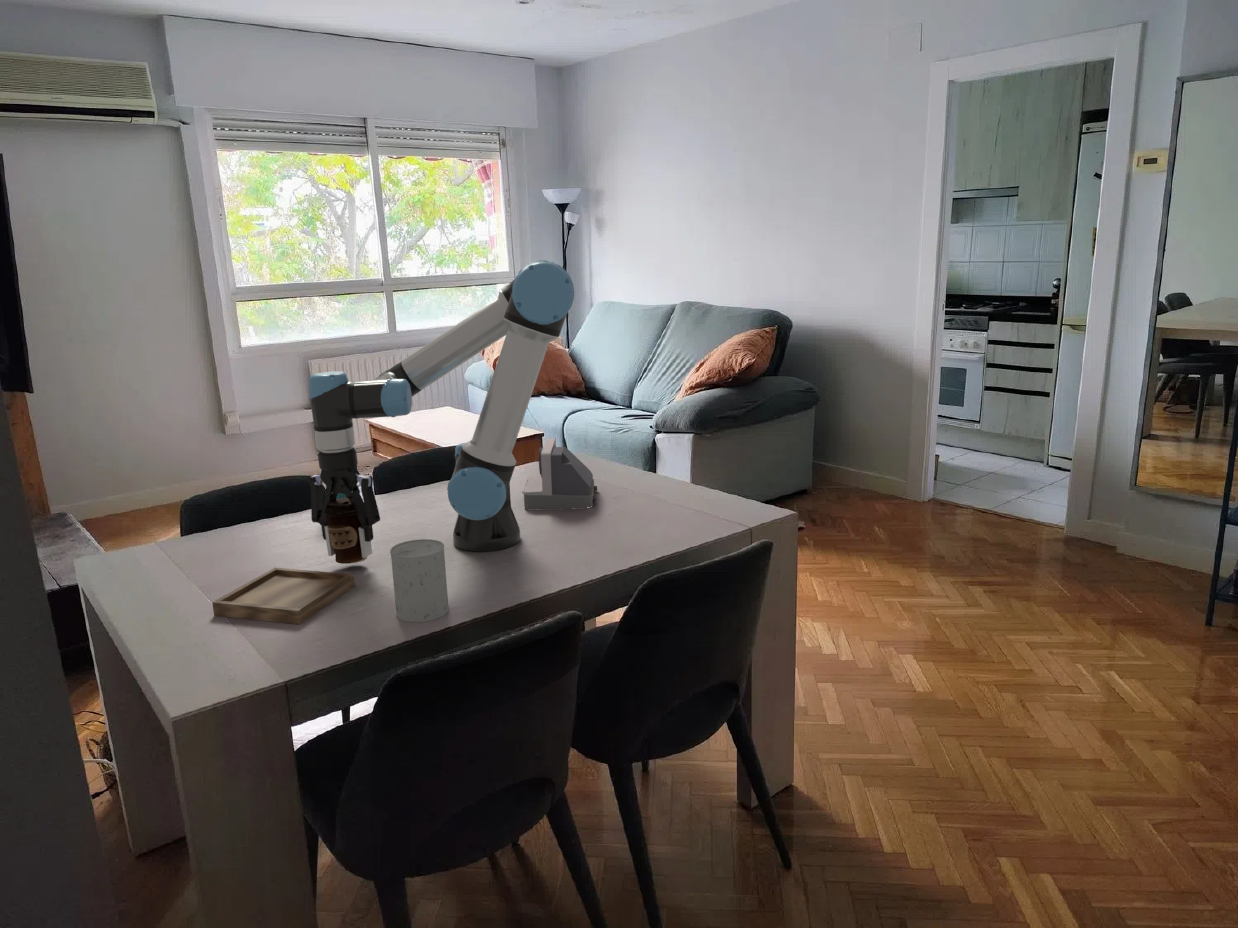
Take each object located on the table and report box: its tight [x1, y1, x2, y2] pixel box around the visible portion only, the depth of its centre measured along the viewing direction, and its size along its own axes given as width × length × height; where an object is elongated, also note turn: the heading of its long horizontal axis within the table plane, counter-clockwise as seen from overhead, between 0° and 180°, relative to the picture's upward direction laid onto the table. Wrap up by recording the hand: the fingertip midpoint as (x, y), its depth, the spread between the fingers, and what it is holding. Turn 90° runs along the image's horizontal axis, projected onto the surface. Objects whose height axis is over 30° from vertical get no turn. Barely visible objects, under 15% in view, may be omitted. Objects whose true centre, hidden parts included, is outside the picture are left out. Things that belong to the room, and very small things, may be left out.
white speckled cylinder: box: [389, 538, 450, 623], centre depth 153 cm, size 10×10×12 cm
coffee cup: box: [324, 498, 368, 565], centre depth 175 cm, size 9×8×13 cm
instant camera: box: [522, 437, 598, 510], centre depth 222 cm, size 21×21×15 cm
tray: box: [212, 567, 356, 625], centre depth 161 cm, size 18×18×3 cm
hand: (350, 554), depth 177 cm, fingers closed on coffee cup, 7 cm apart
